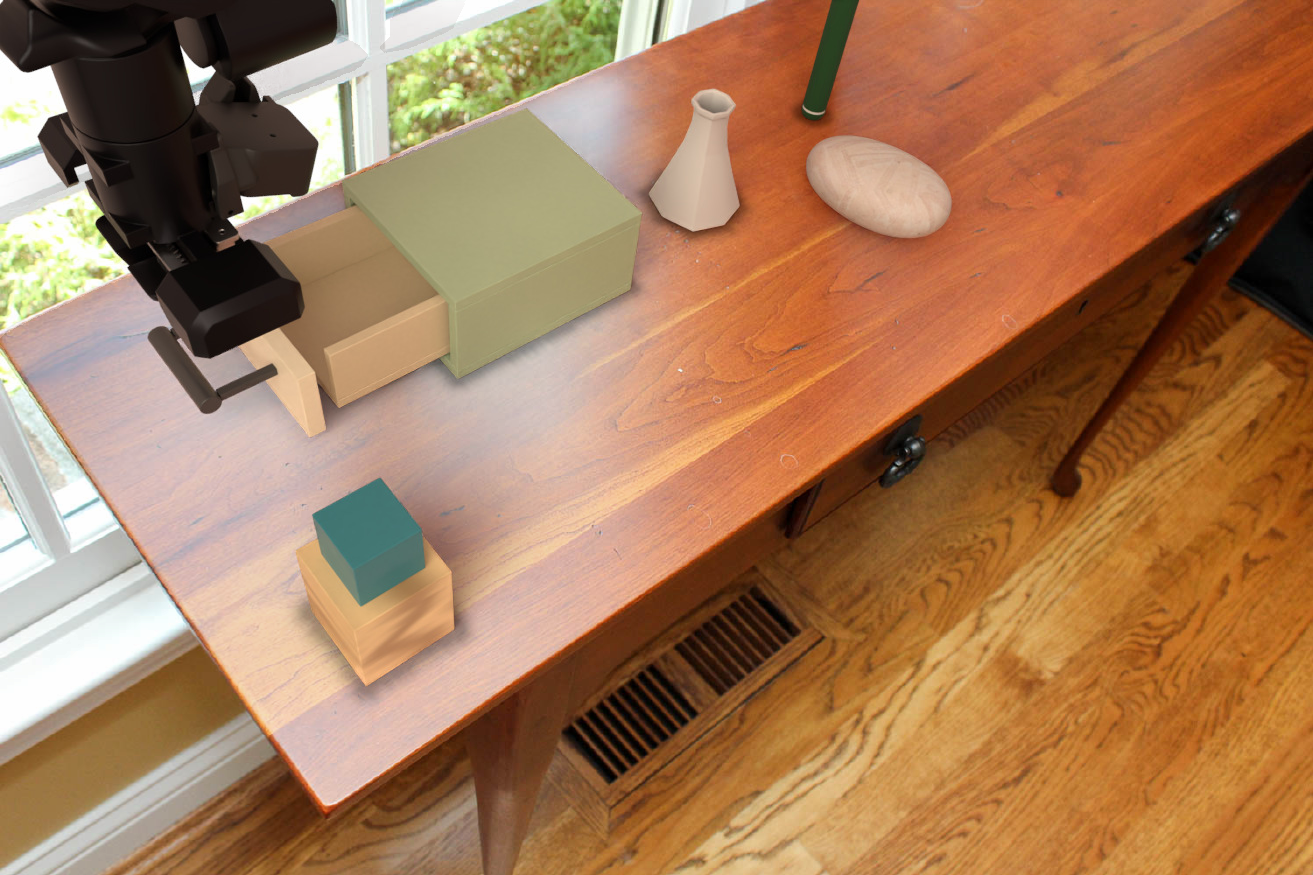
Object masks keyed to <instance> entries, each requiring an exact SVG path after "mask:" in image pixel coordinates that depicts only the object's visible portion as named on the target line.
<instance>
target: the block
mask: <svg viewBox="0 0 1313 875" xmlns="http://www.w3.org/2000/svg"><path fill="white" fill-rule="evenodd" d="M311 517H312V521H313V525H314V530H315V533H316V539H317V538H318V542H319V546H320V550H321V554H322V556H323V557H324V558H325V560H326V561H327V562H328V564H329V565H330V566H331V568H332V569H333V570H334V572H335V573H336V575H337V576H338V577H339V579H340V580H341V581H342V583H343V584H344V585H345V587H346V588H347V589H348V591H349V592H350V593H351V595H352V596H353V597H354V599H355V600H356V601H357V603H358V604H359V605H360V606H363V605H365V604H367V603H368V602H370V601H371V600H373V599H375V598H376V597H378V596H380V595H381V594H383V593H385V592H386V591H388V590H390V589H391V588H393V587H395V586H396V585H398V584H399V583H401V582H403V581H404V580H406V579H408V578H409V577H411V576H413V575H414V574H416V573H418V572H419V571H421V570H423V569H424V568H425V556H424V545H423V536H424V534H423V528H422V527H421V526H420V525H419V523H418V522H417V521H416V520H415V519H414V517H413V516H412V515H411V513H410V512H409V511H408V510H407V509H406V507H405V506H404V504H403V503H402V502H401V501H400V500H399V499H398V497H397V496H396V495H395V494H394V493H393V491H392V490H391V488H390V487H389V486H388V485H387V483H386V482H385V481H384V480H383V479H382V477H378V478H376V479H374V480H372V481H369V483H366V484H365V485H363V486H361V487H359V488H358V489H356V490H354V491H352V492H350V493H348V494H347V495H345V496H342V497H341V498H339V499H338V500H336V501H334V502H332V503H330V504H328V505H326V506H325V507H323V508H321V509H319V510H318V511H317V510H316V512H313V513H312V514H311Z"/></svg>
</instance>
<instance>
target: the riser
mask: <svg viewBox="0 0 1313 875" xmlns="http://www.w3.org/2000/svg"><path fill="white" fill-rule="evenodd" d="M423 545H424V556H425V568H424V569H423V570H421V571H419V572H418V573H416V574H414V575H413V576H411V577H409V578H408V579H406V580H404V581H403V582H401V583H399V584H398V585H396V586H395V587H393V588H391V589H390V590H388V591H386V592H385V593H383V594H381V595H380V596H378V597H376V598H375V599H373V600H371V601H370V602H368V603H367V604H365V605H363V606H360V605H359V604H358V603H357V601H356V600H355V599H354V597H353V596H352V595H351V593H350V592H349V591H348V589H347V588H346V587H345V585H344V584H343V583H342V581H341V580H340V579H339V577H338V576H337V575H336V573H335V572H334V570H333V569H332V568H331V566H330V565H329V564H328V562H327V561H326V560H325V558H324V557H323V556H322V554H321V550H320V546H319V542H318V538H317V537H316V538H315V539H313V540H312V541H309V542H308V543H306V544H304V545H303V546H301V547H299V548H297V549H295V556H296V559H297V563H298V567H299V570H300V574H301V578H302V581H303V585H304V588H305V592H306V595H307V599H308V602H309V606H310V609H311V612H312V614H313V615H314V616H315V618H316V619H317V621H318V622H319V623H320V625H321V626H322V627H323V629H324V630H325V632H326V633H327V635H328V636H329V637H330V639H331V640H332V642H333V643H334V644H335V646H336V647H337V648H338V650H339V652H340V653H341V654H342V656H343V657H344V659H345V660H346V661H347V662H348V664H349V665H350V667H351V668H352V669H353V671H354V672H355V674H356V675H357V676H358V678H359V680H360V681H361V682H362V683H363V685H364V686H365V687H368V686H369V685H371V684H373V683H374V682H375V681H377V680H379V679H380V678H382V677H383V676H385V675H387V674H388V673H389V672H391V671H392V670H394V669H396V668H397V667H399V666H400V665H402V664H404V663H405V662H406V661H408V660H409V659H411V658H413V657H414V656H415V655H417V654H419V653H421V652H422V651H423V650H425V649H427V648H428V647H430V646H431V645H433V644H434V643H436V642H437V641H439V640H440V639H442V638H443V637H445V636H446V635H448V634H450V633H451V632H453V631H454V630H455V613H454V612H455V611H454V592H453V574H452V572H453V571H452V569H450V568H449V566H448V565H447V564H446V563H445V561H444V560H443V559H442V558H441V556H440V555H439V554H438V553H437V551H436V550H435V549H434V548H433V546H432V545H431V543H430V542H429V541H428V540H427V539H426V538H425V536H424V535H423Z"/></svg>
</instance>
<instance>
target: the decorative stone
mask: <svg viewBox="0 0 1313 875" xmlns="http://www.w3.org/2000/svg"><path fill="white" fill-rule="evenodd" d="M805 173H806V177H807V180H808V182H809V184H810V186H811V188H812V189H813V191H814V192H815V194H816V195H817V196H819V198H820V199H821V200H822V201H823V202H824V203H825V204H826V205H827V206H829V207H830V208H831V209H832V210H834V211H835V212H837V213H838V214H839V215H841V216H842V217H844V218H845V219H847V220H849V221H850V222H852V223H854V224H856V225H857V226H860V227H862V228H864V229H866V230H869V231H871V232H874V233H877V234H880V235H883V236H887V237H892V238H898V239H918V238H924V237H926V236H929V235H931V234H933V233H936V232H937V231H939V229H941V228H942V227H943V226H944V225H945V224H946V222H947V221H948V219H949V218H950V216H951V213H952V212H951V211H952V206H953V200H952V195H951V192H950V189H949V187H948V185H947V183H946V182H945V180H943V178H942V177H941V175H939V174H938V173H937V172H936V170H934V169H933V168H932V167H930V166H929V165H928V164H927V163H925V162H924V161H922V160H920V159H919V158H917V157H916V156H914V155H913V154H910V153H909V152H907V151H905V150H903V149H900V148H898V147H896V146H893V145H891V144H888V143H886V142H883V141H880V140H877V139H875V138H870V137H865V136H859V135H853V134H852V135H851V134H848V135H847V134H844V135H843V134H842V135H841V134H840V135H833V136H829V137H827V138H824V139H823V140H821V141H819V142H818V143H816V144H815V145H814V146H813V147H812V149H811V150H810V151H809V153H808V155H807V158H806V163H805Z"/></svg>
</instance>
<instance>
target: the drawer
mask: <svg viewBox="0 0 1313 875" xmlns="http://www.w3.org/2000/svg"><path fill="white" fill-rule="evenodd" d="M262 243H263V244H266V245H268V246H269V247H270V248H271V249H272V250H273V251H274V253H275V254H276V255H277V256H278V257H279V259H280V260H281V261H282V262H283V263H284V264H285V266H286V267H287V268H288V269H289V270H290V271H291V273H292V274H293V275H294V276H295V277H296V278H297V280H298V281H299V282H300V284H301V289H302V294H303V299H304V304H305V309H304V311H303V314H302V316H301V318H299V319H297V320H295V321H293V322H291V323H288V324H286V325H284V326H282V327H280V328H277V329H275V330H273V331H271V332H269V333H266V334H264V335H262V336H260V337H257V338H255V339H253V340H251V341H249V342H246V343H244V344H242V345H240V346H238V348H239V349H240V351H241V352H242V353H243V354H244V356H245V357H246V358H247V360H248V361H249V363H251V365H252V366H253V367H254V369H255V370H254V371H252V372H250V373H247V374H245V375H243V376H241V377H238V378H237V379H234V380H233V381H229V382H228V383H226V384H224V385H222V386H220V387H217V388H215V389H214V387H213V385H211V383H210V382H209V381H208V379H207V378H206V377H205V376H204V374H203V372H202V371H201V370H200V369H199V367H198V366H197V365H196V363H195V362H194V360H192V358H191V356H190V355H189V354H188V353H187V351H186V350H185V349H184V347H183V346H182V345H181V343H180V342H179V341H178V340H181V338H180V337H179V335H178V334H177V333H176V331H175V330H174V329H173V327H170V328H168V327H167V326H164V325H160V326H156V327H154V328H152V329H151V330H150V331H149V332H148V334H147V340H148V342H149V343H150V345H151V346H152V348H153V350H155V351H156V353H157V355H158V356H159V357H160V358H161V360H162V361H163V363H164V364H165V365H166V366H167V368H168V369H169V371H170V372H171V374H172V375H173V376H174V377H175V379H176V380H177V382H178V383H179V385H180V386H181V388H183V390H184V391H185V393H186V394H187V395H188V396H189V398H190V399H191V400H192V402H193V403H194V405H195V406H196V407H197V408H198V410H199V412H200V413H202V414H204V415H210V414H214V413H216V412H217V411H218V410H219V409H220V408H221V406H222V404H223V401H225V400H228V399H229V398H232V397H233V396H235V395H238V394H240V393H242V392H244V391H246V390H248V389H251V388H253V387H255V386H257V385H259V384H261V383H263V382H265V383H266V384H267V385H268V386H269V387H270V389H271V390H272V391H273V393H274V394H275V396H277V398H278V399H279V400H280V402H281V403H282V404H283V406H284V407H285V408H286V409H287V411H288V412H289V413H290V415H291V416H292V417H293V418H294V419H295V421H296V422H297V424H298V425H299V426H300V427H301V428H302V429H303V430H304V432H305V433H306V435H307V437H308V438H310V439H311V438H313V437H315V436H317V435H319V434H321V433H322V432H325V431H326V430H327V426H326V421H325V416H324V410H323V405H322V400H321V394H320V390H319V386H320V387H321V388H322V389H323V390H324V392H325V393H326V394H327V396H328V397H329V398H330V399H331V401H332V402H333V403H334V404H335V405H336V407H337V408H339V409H340V408H341V407H344V406H346V405H348V404H351V403H352V402H354V401H356V400H358V399H360V398H362V397H364V396H366V395H368V394H370V393H373V392H374V391H375V390H376V391H377V390H378V389H380V388H382V387H384V386H386V385H388V384H390V383H392V382H394V381H396V380H398V379H400V378H402V377H404V376H405V375H408V374H410V373H412V372H413V371H416V370H418V369H420V368H421V367H424V366H425V365H428V364H430V363H432V362H434V361H436V360H438V359H439V358H440V357H442V356H444V355H446V354H448V353H450V336H449V311H448V303H447V302H446V301H445V300H444V299H443V298H442V296H441V295H440V294H439V293H438V292H437V291H436V290H435V289H434V288H433V287H432V286H431V285H430V284H429V282H428V281H427V280H426V279H425V278H424V277H423V276H422V275H421V274H420V273H419V272H418V271H417V270H416V268H415V267H414V266H413V265H412V264H411V263H410V262H409V261H408V260H407V259H406V258H405V257H404V256H403V254H402V253H401V252H400V251H399V250H398V249H397V248H396V247H395V246H394V245H393V244H392V243H391V242H390V240H389V239H388V238H387V237H386V236H385V235H384V234H383V233H382V232H381V231H380V230H379V229H378V228H377V226H376V225H375V224H374V223H373V222H372V221H371V220H370V219H369V218H368V217H367V216H366V215H365V214H364V212H363V211H362V210H361V209H360V208H359V207H358V206H357V205H355V206H352V207H350V208H347V209H346V208H345V209H342V210H340V211H338V212H334V213H333V214H330V215H328V216H325V217H323V218H320V219H318V220H315V221H313V222H311V223H308V224H306V225H303V226H301V227H299V228H296V229H293V230H291V231H288V232H286V233H284V234H281V235H279V236H276V237H273V238H271V239H268V240H266V241H264V242H262Z"/></svg>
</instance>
